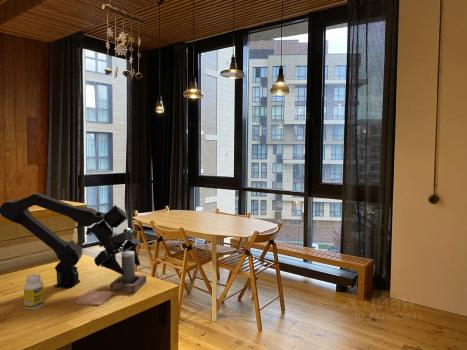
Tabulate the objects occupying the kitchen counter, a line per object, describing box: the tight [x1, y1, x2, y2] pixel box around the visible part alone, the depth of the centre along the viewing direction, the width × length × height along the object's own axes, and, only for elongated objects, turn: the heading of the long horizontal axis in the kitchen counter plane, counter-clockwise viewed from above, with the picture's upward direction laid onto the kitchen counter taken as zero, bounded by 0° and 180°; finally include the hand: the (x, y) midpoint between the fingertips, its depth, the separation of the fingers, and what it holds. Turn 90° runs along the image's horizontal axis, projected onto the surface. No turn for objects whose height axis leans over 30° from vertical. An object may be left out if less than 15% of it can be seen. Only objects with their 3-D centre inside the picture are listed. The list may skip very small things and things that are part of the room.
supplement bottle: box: [23, 273, 45, 310], centre depth 110 cm, size 5×5×10 cm
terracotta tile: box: [73, 289, 115, 307], centre depth 116 cm, size 9×9×1 cm
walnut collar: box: [109, 274, 147, 294], centre depth 126 cm, size 10×10×2 cm
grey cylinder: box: [120, 251, 136, 284], centre depth 126 cm, size 4×4×13 cm
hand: (131, 269), depth 125 cm, fingers open, 9 cm apart
